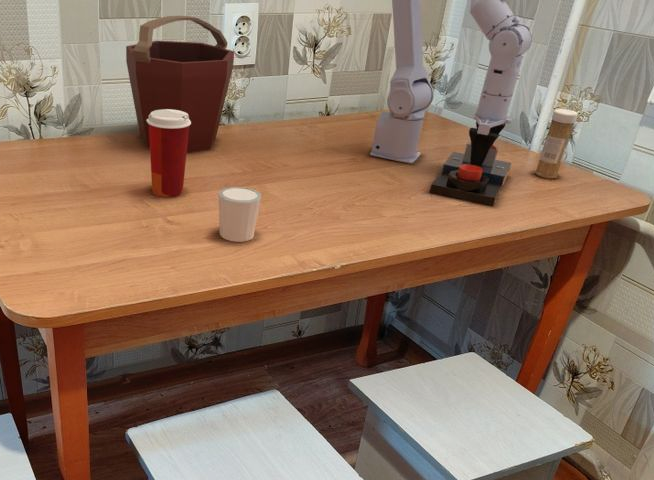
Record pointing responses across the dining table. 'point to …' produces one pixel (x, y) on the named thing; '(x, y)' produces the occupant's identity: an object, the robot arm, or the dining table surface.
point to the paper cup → (168, 150)
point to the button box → (466, 188)
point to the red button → (470, 172)
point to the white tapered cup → (238, 213)
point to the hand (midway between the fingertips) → (478, 161)
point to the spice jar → (556, 143)
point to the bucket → (180, 80)
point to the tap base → (494, 173)
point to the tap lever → (489, 158)
